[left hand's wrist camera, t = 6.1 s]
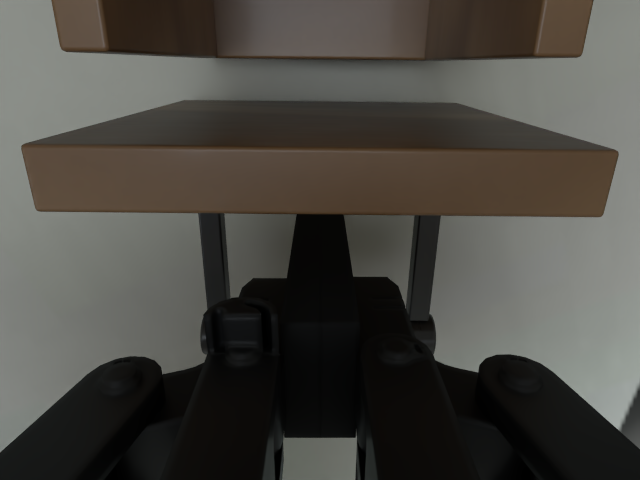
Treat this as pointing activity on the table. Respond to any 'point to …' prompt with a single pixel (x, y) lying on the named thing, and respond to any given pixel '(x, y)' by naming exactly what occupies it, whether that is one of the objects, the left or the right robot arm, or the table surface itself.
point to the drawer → (322, 125)
